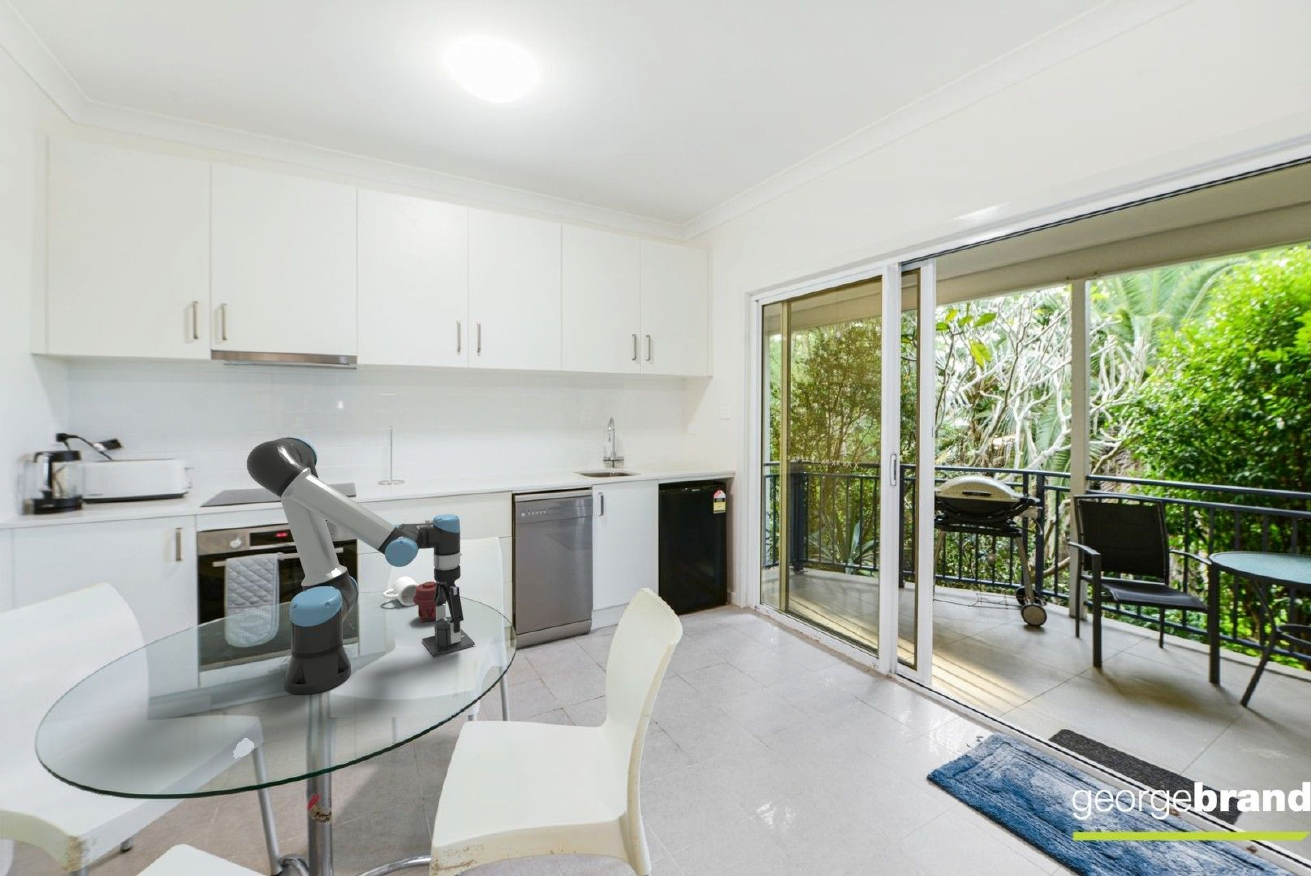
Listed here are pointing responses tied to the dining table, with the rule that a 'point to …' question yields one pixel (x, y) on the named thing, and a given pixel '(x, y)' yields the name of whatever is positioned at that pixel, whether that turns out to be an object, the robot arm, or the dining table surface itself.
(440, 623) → the knob
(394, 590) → the mug
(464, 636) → the metal plate
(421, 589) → the mechanical component
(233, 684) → the dining table surface
